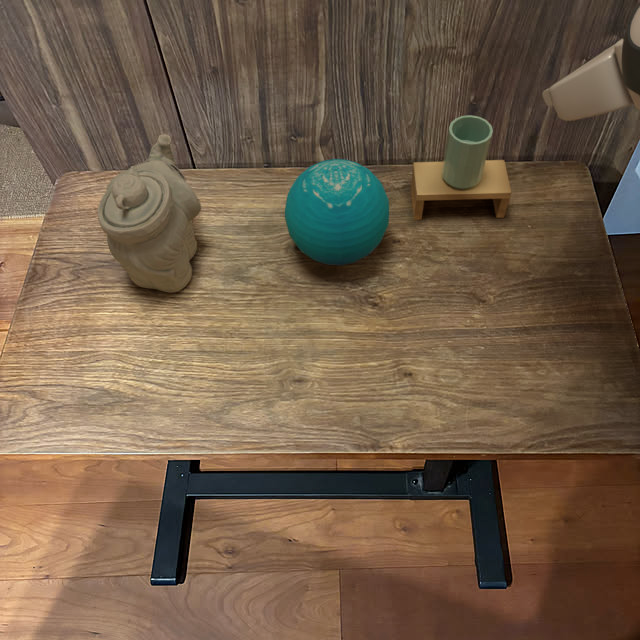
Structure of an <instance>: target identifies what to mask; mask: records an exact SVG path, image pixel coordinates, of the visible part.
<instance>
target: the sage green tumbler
mask: <svg viewBox="0 0 640 640" xmlns="http://www.w3.org/2000/svg"><path fill="white" fill-rule="evenodd" d="M493 134H494V130H493V126H492V124H491V123H490V122H489V121H488V120H487V119H485V118H483V117H481V116H477V115H472V114H470V115H467V114H466V115H461V116H458V117H456V118H455V119H453V120H452V121H451V122H450V123H449V126H448V132H447V136H446V142H445V148H444V154H443V160H442V162H443V167H442V176H443V178H444V180H445V181H446V182H447V183H448V184H449V185H450V186H452V187H454V188H458V189H467V188H471V187H473V186H475V185H477V184H478V183H479V182H480V181H481V178H482V175H483V171H484V167H485V163H486V160H487V158H488V154H489V150H490V146H491V142H492V138H493Z"/></svg>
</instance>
